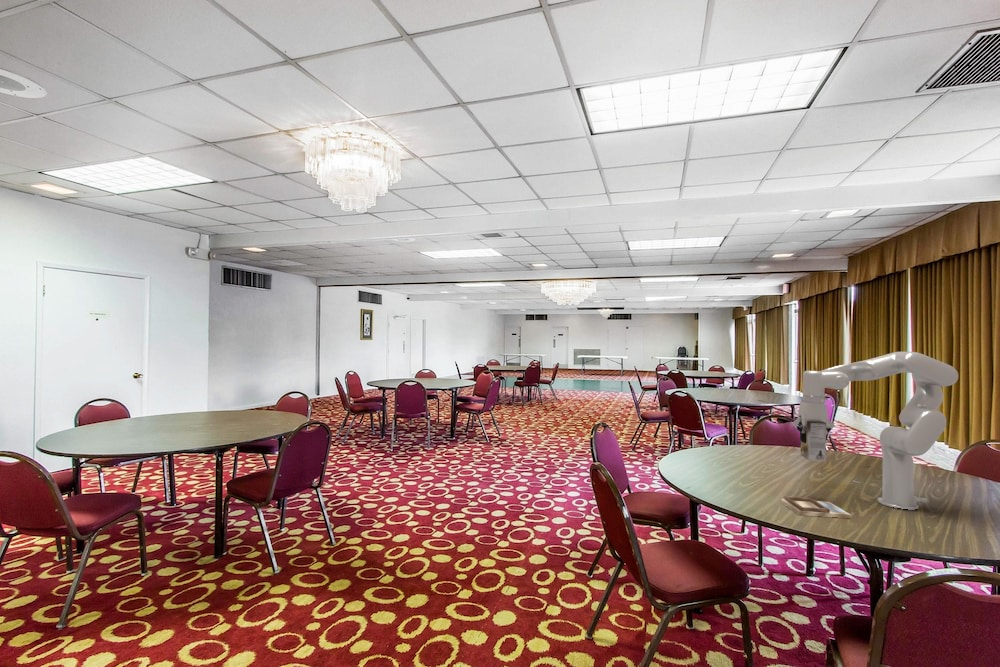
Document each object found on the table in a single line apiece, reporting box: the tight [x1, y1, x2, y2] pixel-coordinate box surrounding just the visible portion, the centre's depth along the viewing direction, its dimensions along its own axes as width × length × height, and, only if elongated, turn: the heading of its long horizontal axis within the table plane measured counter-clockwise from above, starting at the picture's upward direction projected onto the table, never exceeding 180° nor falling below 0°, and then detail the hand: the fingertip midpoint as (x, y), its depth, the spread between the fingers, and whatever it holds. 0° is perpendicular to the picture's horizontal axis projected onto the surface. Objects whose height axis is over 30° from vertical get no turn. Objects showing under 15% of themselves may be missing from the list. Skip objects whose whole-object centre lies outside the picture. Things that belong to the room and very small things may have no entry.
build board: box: [780, 496, 852, 519], centre depth 177 cm, size 18×14×3 cm
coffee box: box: [800, 421, 827, 463], centre depth 190 cm, size 9×6×16 cm
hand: (813, 442), depth 190 cm, fingers closed on coffee box, 6 cm apart
